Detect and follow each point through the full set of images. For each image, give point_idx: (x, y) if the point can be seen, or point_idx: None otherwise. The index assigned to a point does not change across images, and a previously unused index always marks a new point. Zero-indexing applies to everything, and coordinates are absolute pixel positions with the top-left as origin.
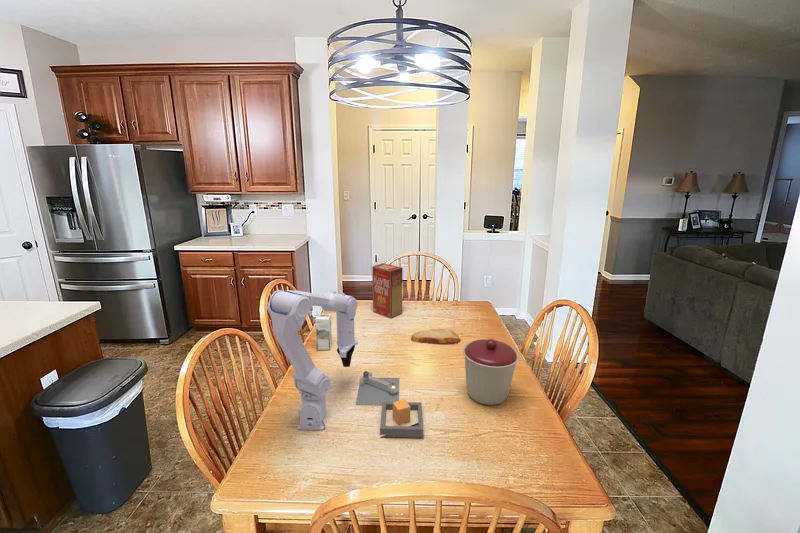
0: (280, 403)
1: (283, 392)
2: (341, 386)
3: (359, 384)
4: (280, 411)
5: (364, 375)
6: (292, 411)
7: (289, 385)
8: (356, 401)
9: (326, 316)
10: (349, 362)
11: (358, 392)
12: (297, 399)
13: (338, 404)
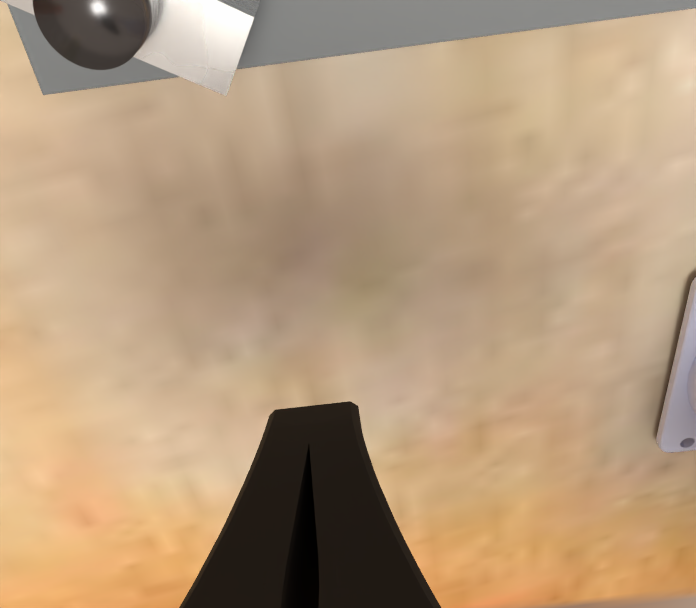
0: (559, 578)
1: None
2: (268, 272)
3: None
4: (651, 554)
5: (150, 26)
6: (662, 501)
7: None
8: (650, 7)
9: None
10: (378, 490)
11: (433, 32)
12: (512, 517)
13: (604, 214)
